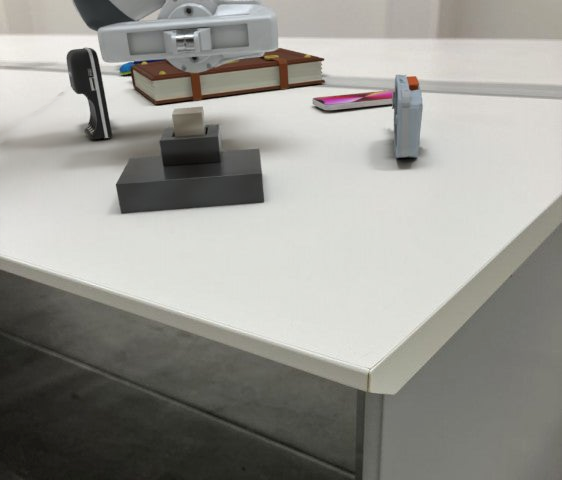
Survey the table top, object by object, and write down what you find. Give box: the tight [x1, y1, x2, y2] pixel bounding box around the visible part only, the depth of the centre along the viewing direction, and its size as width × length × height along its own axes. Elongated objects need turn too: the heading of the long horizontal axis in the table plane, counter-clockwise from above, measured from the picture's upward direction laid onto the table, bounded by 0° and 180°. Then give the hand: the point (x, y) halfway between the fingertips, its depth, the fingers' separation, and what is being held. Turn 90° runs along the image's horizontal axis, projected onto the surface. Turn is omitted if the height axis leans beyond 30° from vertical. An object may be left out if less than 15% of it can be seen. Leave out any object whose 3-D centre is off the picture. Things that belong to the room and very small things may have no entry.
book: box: [130, 47, 326, 105], centre depth 128 cm, size 23×32×5 cm
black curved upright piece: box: [65, 46, 113, 140], centre depth 95 cm, size 7×4×11 cm, turn 22°
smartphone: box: [312, 89, 395, 111], centre depth 106 cm, size 7×1×15 cm
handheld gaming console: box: [391, 74, 424, 160], centre depth 77 cm, size 14×3×8 cm, turn 174°
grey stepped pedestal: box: [115, 123, 265, 214], centre depth 70 cm, size 14×11×6 cm
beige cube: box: [171, 106, 206, 137], centre depth 70 cm, size 3×3×3 cm
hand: (185, 44), depth 72 cm, fingers closed
